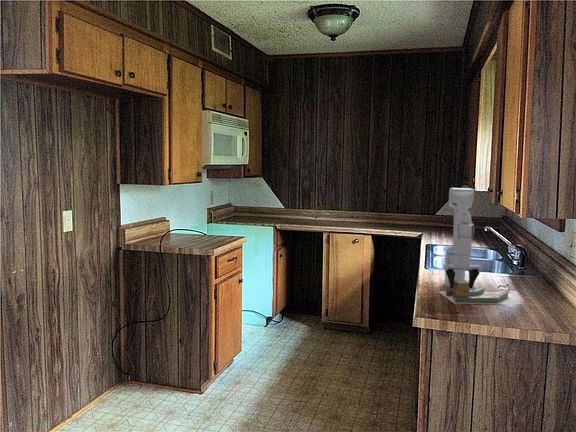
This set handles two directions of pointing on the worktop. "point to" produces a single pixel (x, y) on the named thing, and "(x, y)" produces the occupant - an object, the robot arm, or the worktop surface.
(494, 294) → the channel board
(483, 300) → the rails
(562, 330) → the worktop surface
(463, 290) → the walnut block
